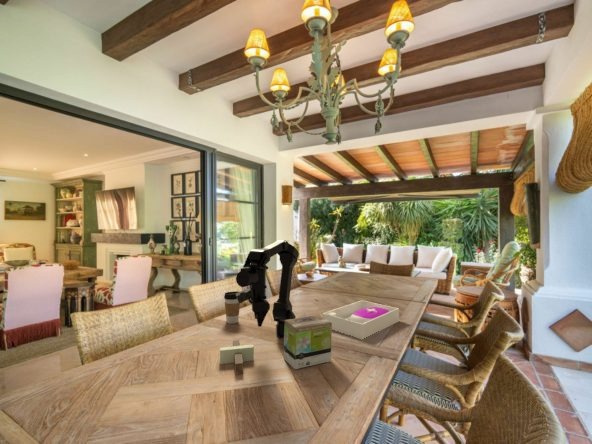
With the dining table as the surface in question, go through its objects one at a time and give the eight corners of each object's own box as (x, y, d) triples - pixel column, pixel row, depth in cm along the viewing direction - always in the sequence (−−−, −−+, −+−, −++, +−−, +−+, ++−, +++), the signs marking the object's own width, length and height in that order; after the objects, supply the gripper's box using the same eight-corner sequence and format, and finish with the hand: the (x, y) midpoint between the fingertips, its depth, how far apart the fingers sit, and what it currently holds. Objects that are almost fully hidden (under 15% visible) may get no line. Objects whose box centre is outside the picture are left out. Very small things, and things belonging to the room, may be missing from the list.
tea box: (295, 371, 101) (295, 327, 101) (283, 359, 110) (283, 319, 110) (332, 361, 108) (332, 321, 108) (317, 351, 117) (317, 313, 117)
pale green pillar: (252, 357, 112) (252, 344, 112) (253, 360, 109) (253, 347, 109) (220, 361, 109) (220, 347, 109) (220, 364, 106) (220, 350, 106)
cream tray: (322, 327, 145) (322, 312, 145) (361, 312, 170) (361, 299, 170) (362, 340, 129) (362, 324, 129) (399, 322, 154) (399, 307, 154)
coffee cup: (236, 325, 147) (237, 294, 147) (221, 323, 148) (221, 293, 148) (243, 319, 155) (243, 290, 155) (228, 318, 156) (228, 290, 157)
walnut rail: (239, 348, 119) (239, 340, 119) (243, 373, 100) (243, 363, 100) (232, 349, 118) (232, 340, 118) (235, 374, 99) (235, 363, 99)
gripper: (235, 278, 122) (235, 316, 122) (238, 288, 104) (238, 333, 104) (262, 277, 125) (262, 314, 125) (270, 286, 107) (269, 330, 107)
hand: (258, 322), depth 115 cm, fingers open, 9 cm apart
